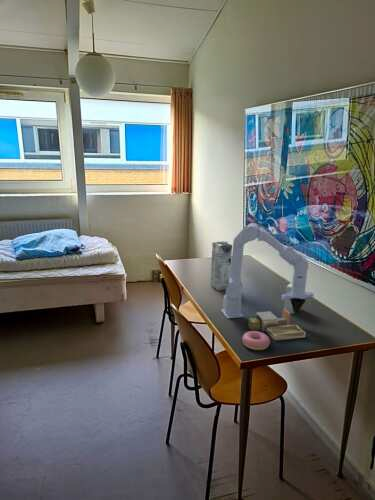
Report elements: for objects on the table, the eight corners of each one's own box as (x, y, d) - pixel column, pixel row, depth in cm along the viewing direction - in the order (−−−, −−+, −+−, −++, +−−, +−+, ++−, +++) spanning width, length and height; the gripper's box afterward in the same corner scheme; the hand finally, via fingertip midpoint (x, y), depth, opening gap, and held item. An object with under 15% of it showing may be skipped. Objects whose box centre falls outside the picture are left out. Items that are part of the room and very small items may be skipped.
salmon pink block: (267, 323, 163) (268, 310, 161) (283, 321, 165) (284, 308, 163) (272, 328, 158) (273, 314, 156) (289, 326, 160) (290, 313, 158)
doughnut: (265, 338, 150) (266, 328, 149) (272, 352, 140) (273, 342, 138) (239, 337, 150) (240, 328, 149) (244, 351, 139) (245, 342, 138)
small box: (296, 314, 173) (299, 289, 169) (283, 311, 176) (286, 286, 173) (302, 309, 179) (304, 284, 176) (289, 306, 183) (292, 281, 179)
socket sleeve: (254, 323, 163) (255, 312, 161) (269, 322, 164) (270, 311, 163) (262, 331, 155) (263, 319, 154) (277, 329, 157) (278, 318, 156)
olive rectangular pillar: (251, 330, 156) (252, 322, 155) (248, 326, 160) (248, 318, 159) (270, 328, 158) (271, 320, 157) (267, 325, 162) (268, 317, 161)
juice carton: (217, 291, 199) (220, 243, 192) (208, 285, 208) (210, 239, 201) (231, 289, 202) (234, 242, 195) (222, 283, 212) (224, 238, 205)
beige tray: (266, 332, 155) (267, 327, 154) (296, 329, 158) (296, 324, 158) (274, 340, 148) (275, 335, 147) (305, 337, 152) (305, 331, 151)
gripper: (288, 288, 153) (285, 318, 156) (318, 286, 157) (315, 315, 160) (280, 283, 160) (277, 311, 163) (309, 281, 163) (306, 309, 167)
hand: (295, 313), depth 162 cm, fingers closed
